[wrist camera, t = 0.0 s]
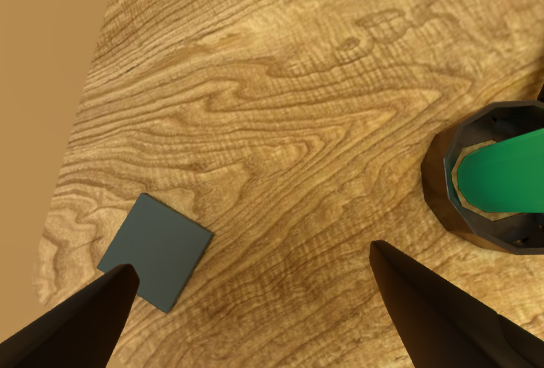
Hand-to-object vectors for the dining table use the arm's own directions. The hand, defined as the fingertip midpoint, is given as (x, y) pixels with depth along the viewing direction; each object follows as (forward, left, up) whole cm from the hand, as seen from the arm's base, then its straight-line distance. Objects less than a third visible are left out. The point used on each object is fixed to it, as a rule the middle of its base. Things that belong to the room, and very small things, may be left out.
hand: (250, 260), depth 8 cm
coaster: (+5, +10, -13) cm, 17 cm away
